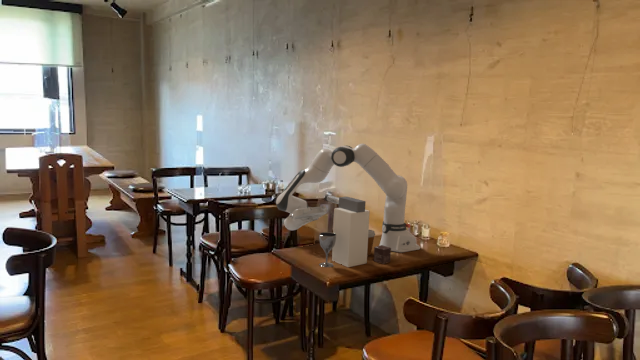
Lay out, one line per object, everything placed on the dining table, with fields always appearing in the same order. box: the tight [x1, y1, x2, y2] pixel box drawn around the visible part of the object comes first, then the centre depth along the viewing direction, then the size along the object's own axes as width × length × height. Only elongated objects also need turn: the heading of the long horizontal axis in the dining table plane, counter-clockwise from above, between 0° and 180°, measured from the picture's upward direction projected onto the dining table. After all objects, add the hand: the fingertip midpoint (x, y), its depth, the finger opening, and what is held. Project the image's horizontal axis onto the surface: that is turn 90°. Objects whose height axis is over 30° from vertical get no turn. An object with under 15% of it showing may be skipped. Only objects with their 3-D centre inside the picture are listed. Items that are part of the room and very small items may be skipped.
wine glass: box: [318, 231, 336, 268], centre depth 235 cm, size 8×8×15 cm
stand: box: [331, 196, 370, 268], centre depth 240 cm, size 14×12×31 cm
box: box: [373, 244, 392, 265], centre depth 244 cm, size 6×6×7 cm
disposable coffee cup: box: [367, 229, 376, 256], centre depth 256 cm, size 10×10×12 cm
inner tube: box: [324, 194, 340, 205], centre depth 244 cm, size 23×3×3 cm, turn 38°
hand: (317, 207), depth 260 cm, fingers open, 8 cm apart
